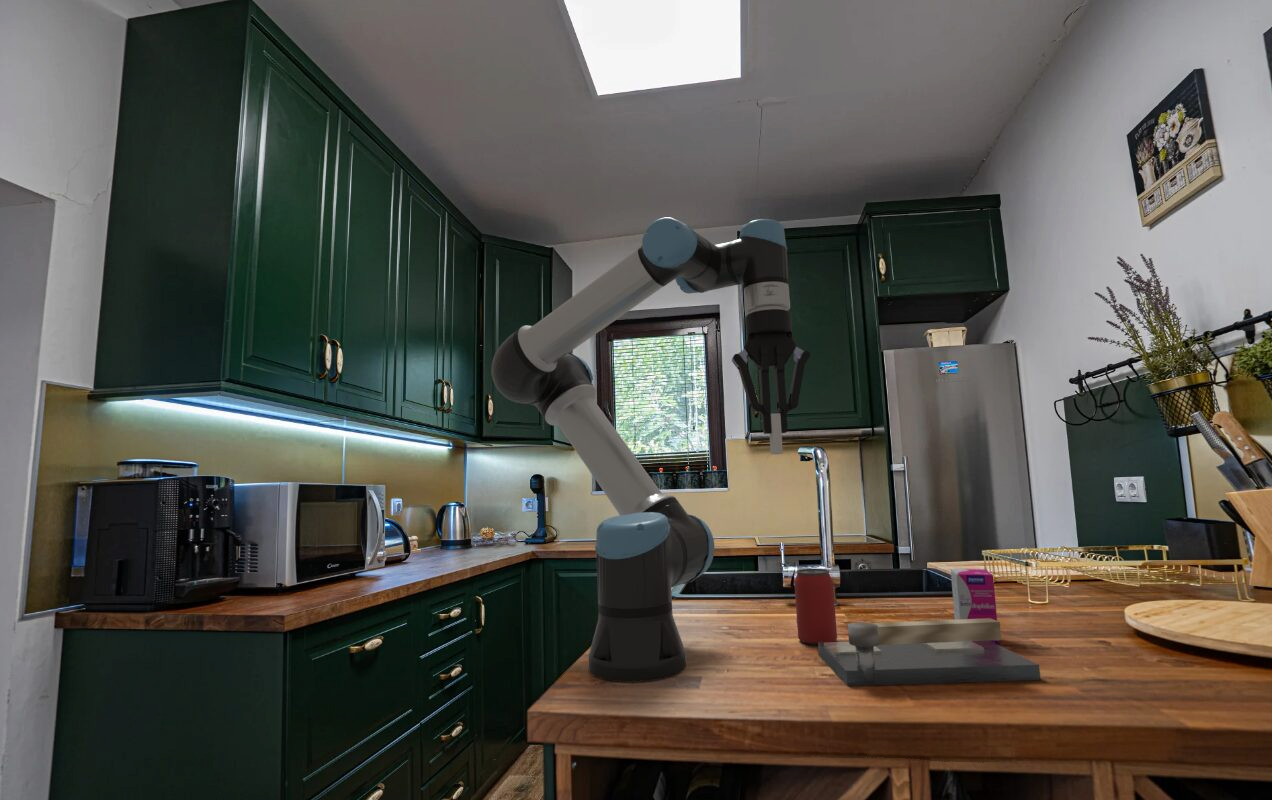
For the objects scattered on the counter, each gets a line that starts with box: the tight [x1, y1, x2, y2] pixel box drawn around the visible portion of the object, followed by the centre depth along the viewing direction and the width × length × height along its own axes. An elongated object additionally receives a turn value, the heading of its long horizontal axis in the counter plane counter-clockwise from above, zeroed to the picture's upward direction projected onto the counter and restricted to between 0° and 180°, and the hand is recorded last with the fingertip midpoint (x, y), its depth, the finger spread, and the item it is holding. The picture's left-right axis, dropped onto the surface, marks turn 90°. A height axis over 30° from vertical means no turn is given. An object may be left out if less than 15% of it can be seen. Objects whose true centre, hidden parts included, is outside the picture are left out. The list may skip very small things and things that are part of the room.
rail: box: [847, 618, 1002, 647], centre depth 92 cm, size 20×4×2 cm, turn 90°
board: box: [817, 640, 1042, 687], centre depth 98 cm, size 26×16×2 cm, turn 88°
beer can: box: [794, 568, 838, 646], centre depth 116 cm, size 7×7×12 cm
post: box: [855, 646, 875, 687], centre depth 92 cm, size 2×2×5 cm
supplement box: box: [950, 568, 1000, 646], centre depth 112 cm, size 6×6×12 cm
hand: (776, 453), depth 108 cm, fingers closed
